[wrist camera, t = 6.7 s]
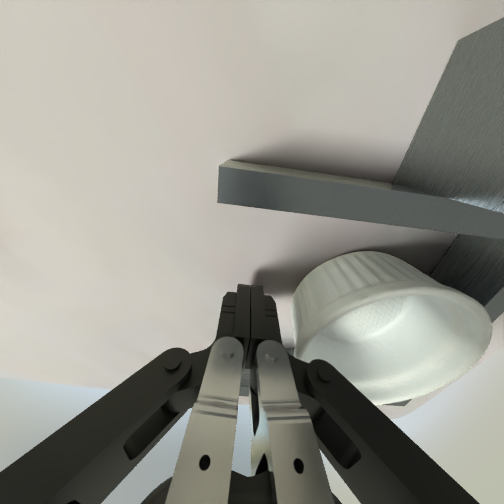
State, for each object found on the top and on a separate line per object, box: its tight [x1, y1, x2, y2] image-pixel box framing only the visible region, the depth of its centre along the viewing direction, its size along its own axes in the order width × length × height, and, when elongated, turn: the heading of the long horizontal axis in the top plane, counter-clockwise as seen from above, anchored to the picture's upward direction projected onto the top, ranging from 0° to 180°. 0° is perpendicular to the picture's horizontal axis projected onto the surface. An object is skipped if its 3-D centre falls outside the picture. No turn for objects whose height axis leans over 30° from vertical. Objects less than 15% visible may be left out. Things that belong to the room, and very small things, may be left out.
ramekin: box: [291, 251, 492, 405], centre depth 11 cm, size 9×9×4 cm
